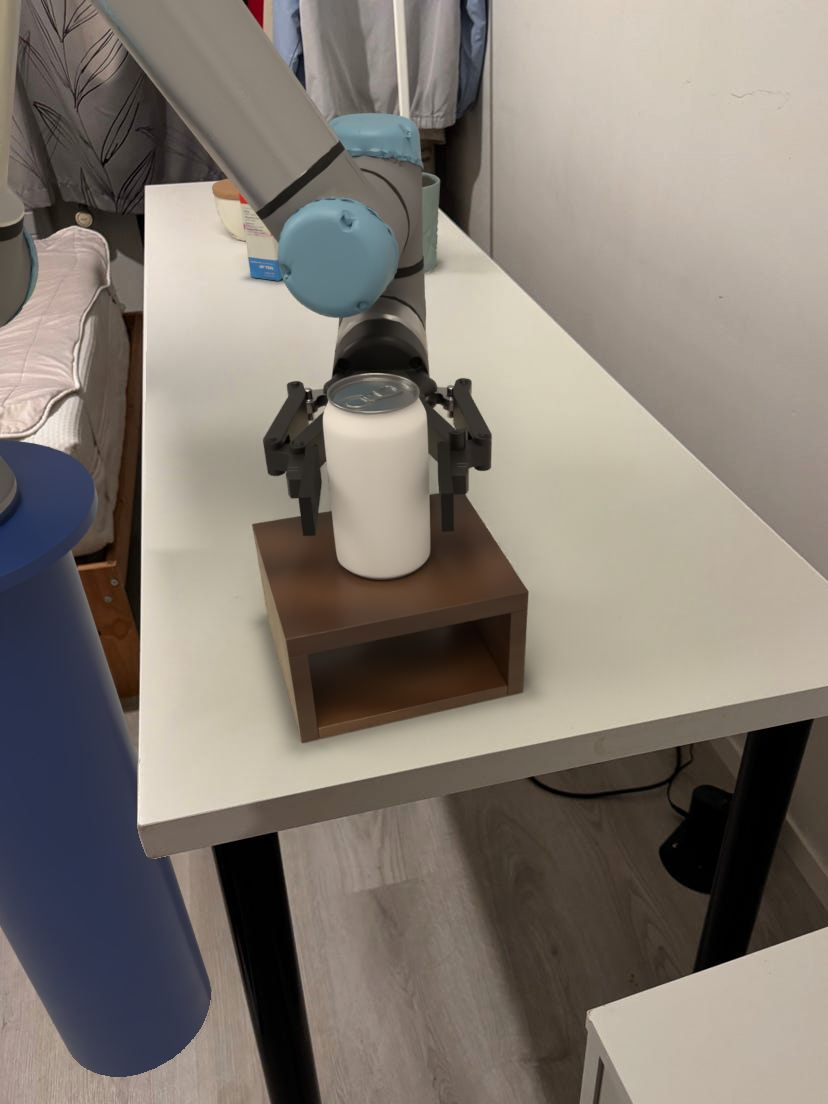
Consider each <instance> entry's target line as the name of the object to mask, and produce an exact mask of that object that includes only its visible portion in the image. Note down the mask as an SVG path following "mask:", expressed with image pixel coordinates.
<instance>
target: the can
mask: <svg viewBox="0 0 828 1104" xmlns="http://www.w3.org/2000/svg"><path fill="white" fill-rule="evenodd" d="M419 393H420V392H419V388H418V386H417V385H416V384H415V383H414V382H413V381H411V380H409V379H407V378H405V377H402V376H398V375H393V374H386V373H366V374H358V375H353V376H349V377H346V378H343V379H341V380H339V381H337V382H335V383H334V384H333V385H331V386H330V388H329V389H328V391H327V398H328V403H327V406H326V407H325V408H324V411H323V412H324V414H323V431H324V441H325V451H326V461H327V462H326V470H327V481H328V487H329V488H328V489H329V490H328V491H329V498H330V500H329V501H330V507H331V509H330V511H332V519H333V528H334V537H335V546H336V554H337V558H338V561H339V563H340V564H341V565H342V566H343V567H344V568H346V569H347V570H348V571H350V572H351V573H353V574H355V575H357V576H360V577H362V578H366V579H371V580H391V579H397V578H401V577H404V576H407V575H409V574H411V573H413V572H415V571H416V570H418V569H419V568H420V567H421V566H422V565H423V564H424V563H425V562H426V560H427V559H428V557H429V555H430V500H429V495H430V467H429V466H430V465H429V453H428V431H427V415H426V411H425V408H424V406H423V404H422V402H421V401H420V399H419Z"/></svg>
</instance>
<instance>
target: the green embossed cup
mask: <svg viewBox="0 0 828 1104" xmlns="http://www.w3.org/2000/svg"><path fill="white" fill-rule="evenodd" d="M440 189H441V179H440V178H439V177H438V176H437V175H435V174H432V173H429V172H423V171H422V215H423V256H424V273H427V272H430V271H432V270H435V268H436V266H437V260H438V252H437V248H438V238H439V237H438V236H439V235H438V230H439V228H438V225H439V205H440V192H441V191H440Z"/></svg>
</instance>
